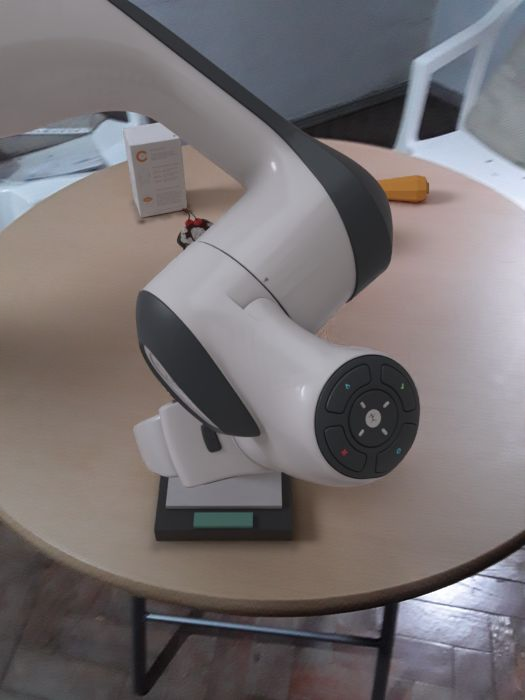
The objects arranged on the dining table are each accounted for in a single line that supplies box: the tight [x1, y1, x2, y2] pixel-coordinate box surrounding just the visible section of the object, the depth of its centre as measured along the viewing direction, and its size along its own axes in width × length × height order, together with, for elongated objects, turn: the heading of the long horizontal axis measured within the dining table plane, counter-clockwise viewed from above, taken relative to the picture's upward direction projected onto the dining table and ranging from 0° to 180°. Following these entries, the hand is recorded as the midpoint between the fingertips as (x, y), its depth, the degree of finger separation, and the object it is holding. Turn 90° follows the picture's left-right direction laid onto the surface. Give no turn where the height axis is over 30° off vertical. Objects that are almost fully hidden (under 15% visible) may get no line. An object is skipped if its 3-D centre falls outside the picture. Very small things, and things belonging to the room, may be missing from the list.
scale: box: [153, 471, 293, 542], centre depth 74 cm, size 14×14×3 cm
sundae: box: [176, 207, 214, 251], centre depth 92 cm, size 7×7×15 cm
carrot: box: [376, 174, 430, 203], centre depth 116 cm, size 20×4×4 cm, turn 84°
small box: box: [122, 122, 188, 218], centre depth 110 cm, size 8×6×13 cm
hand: (231, 406), depth 65 cm, fingers open, 8 cm apart
